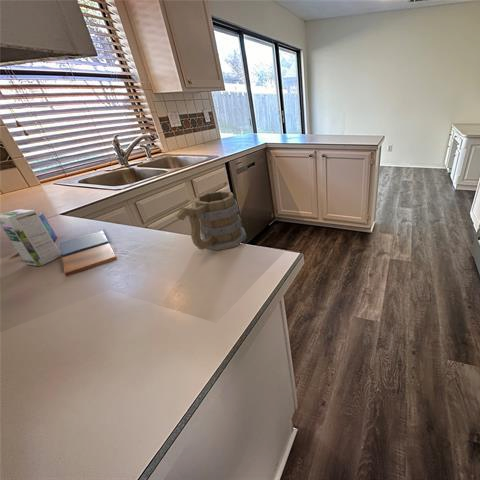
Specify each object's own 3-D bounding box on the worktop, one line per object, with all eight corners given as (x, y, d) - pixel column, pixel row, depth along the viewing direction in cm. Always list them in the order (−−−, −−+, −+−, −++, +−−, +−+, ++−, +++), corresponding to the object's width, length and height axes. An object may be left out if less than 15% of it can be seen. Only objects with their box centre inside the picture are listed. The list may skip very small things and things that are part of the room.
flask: (49, 237, 88) (31, 207, 82) (60, 235, 89) (43, 205, 83) (36, 250, 80) (15, 218, 75) (48, 248, 81) (28, 216, 76)
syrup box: (25, 264, 73) (-9, 216, 66) (48, 253, 78) (20, 208, 71) (40, 267, 71) (7, 218, 65) (63, 255, 76) (35, 209, 70)
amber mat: (63, 260, 74) (62, 257, 74) (110, 246, 81) (109, 243, 80) (66, 276, 67) (64, 273, 66) (117, 259, 73) (115, 256, 73)
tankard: (222, 228, 88) (211, 185, 81) (253, 233, 84) (245, 188, 77) (173, 259, 72) (155, 208, 65) (209, 267, 68) (194, 213, 61)
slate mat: (61, 245, 82) (60, 242, 82) (104, 233, 89) (102, 230, 89) (63, 257, 75) (61, 254, 75) (109, 243, 82) (108, 241, 81)
